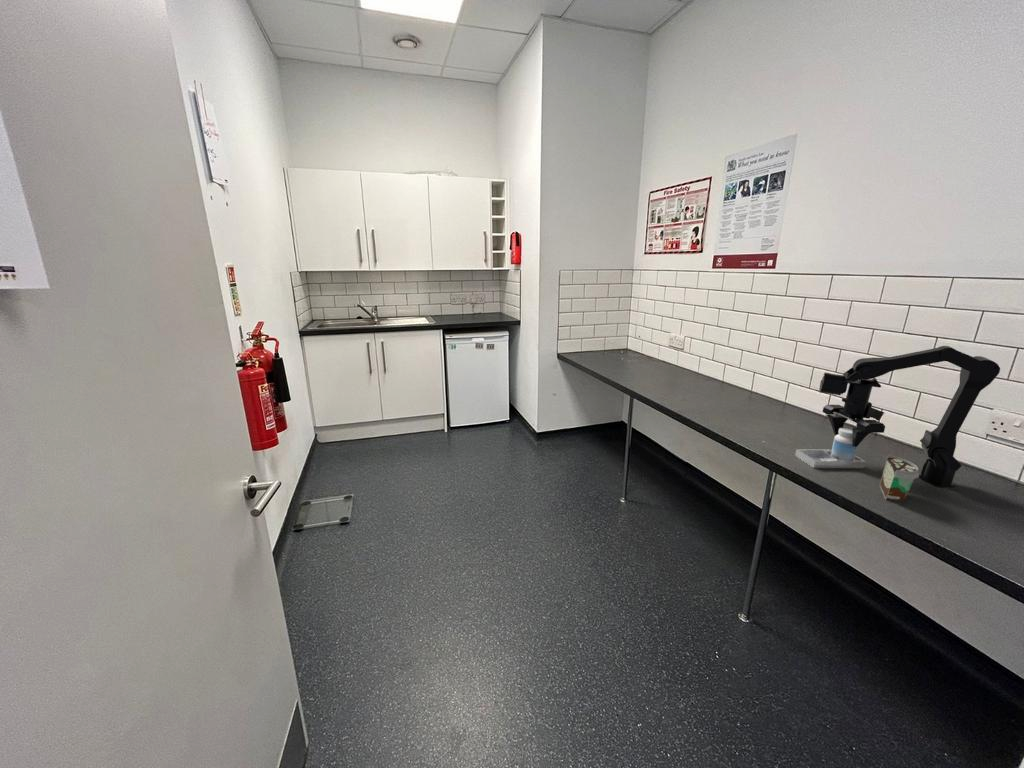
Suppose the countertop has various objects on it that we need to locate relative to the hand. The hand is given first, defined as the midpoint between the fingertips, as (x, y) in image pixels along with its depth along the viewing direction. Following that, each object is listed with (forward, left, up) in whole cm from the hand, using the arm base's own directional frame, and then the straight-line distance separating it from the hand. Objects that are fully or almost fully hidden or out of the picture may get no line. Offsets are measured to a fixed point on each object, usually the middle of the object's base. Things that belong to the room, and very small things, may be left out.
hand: (845, 441), depth 139 cm
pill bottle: (0, 0, -7) cm, 7 cm away
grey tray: (0, +4, -8) cm, 9 cm away
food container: (-21, 0, -8) cm, 22 cm away
